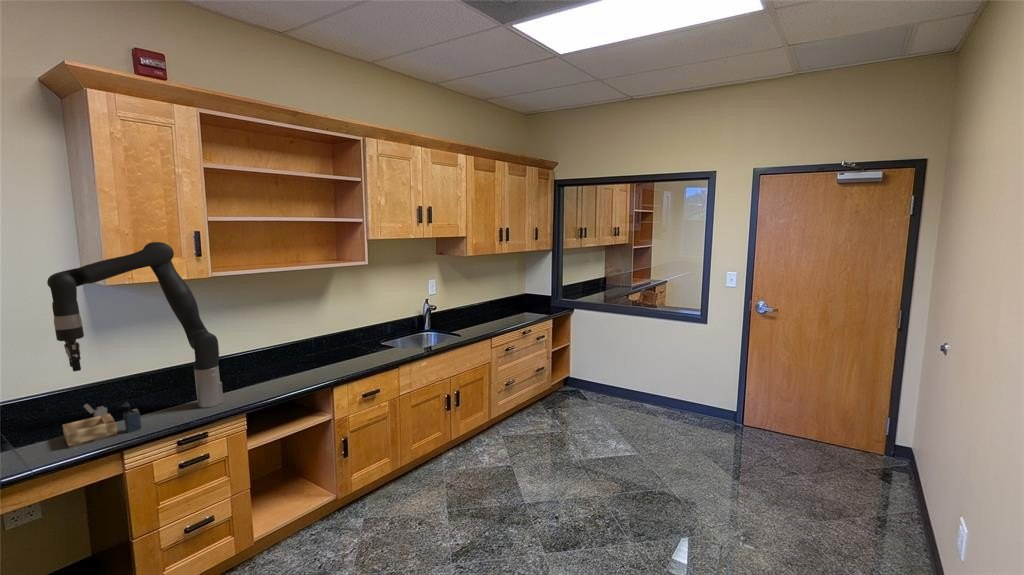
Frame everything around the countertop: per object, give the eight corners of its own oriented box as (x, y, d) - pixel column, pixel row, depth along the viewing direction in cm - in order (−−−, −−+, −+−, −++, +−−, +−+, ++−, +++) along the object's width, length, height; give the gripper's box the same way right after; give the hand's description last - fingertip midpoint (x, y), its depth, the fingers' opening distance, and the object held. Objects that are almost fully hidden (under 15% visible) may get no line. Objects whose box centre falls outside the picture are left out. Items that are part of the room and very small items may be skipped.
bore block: (111, 425, 193) (109, 413, 192) (117, 435, 184) (116, 423, 183) (64, 437, 183) (62, 424, 182) (68, 448, 174) (66, 435, 173)
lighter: (106, 416, 202) (103, 398, 201) (108, 417, 201) (105, 399, 200) (85, 423, 196) (82, 404, 194) (87, 423, 195) (84, 405, 194)
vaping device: (124, 432, 187) (120, 402, 185) (140, 427, 191) (136, 398, 189) (126, 433, 185) (122, 404, 184) (142, 428, 190) (139, 399, 188)
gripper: (84, 327, 175) (91, 369, 177) (79, 322, 184) (86, 362, 187) (56, 331, 169) (64, 375, 172) (53, 325, 179) (60, 367, 181)
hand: (75, 368), depth 179 cm, fingers open, 8 cm apart
